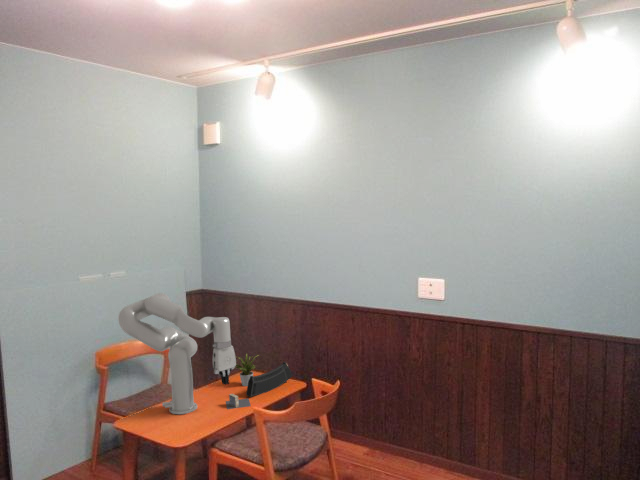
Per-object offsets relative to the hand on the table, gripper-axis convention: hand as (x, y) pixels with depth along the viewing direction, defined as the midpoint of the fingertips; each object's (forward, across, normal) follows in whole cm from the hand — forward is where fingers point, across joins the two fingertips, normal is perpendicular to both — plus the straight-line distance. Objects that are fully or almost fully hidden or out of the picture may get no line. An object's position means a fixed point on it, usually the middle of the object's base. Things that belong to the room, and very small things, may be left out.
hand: (225, 383), depth 226 cm
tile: (+12, +4, +1) cm, 13 cm away
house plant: (+12, +27, +20) cm, 35 cm away
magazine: (+13, +30, +5) cm, 33 cm away
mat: (+12, +7, +1) cm, 14 cm away
